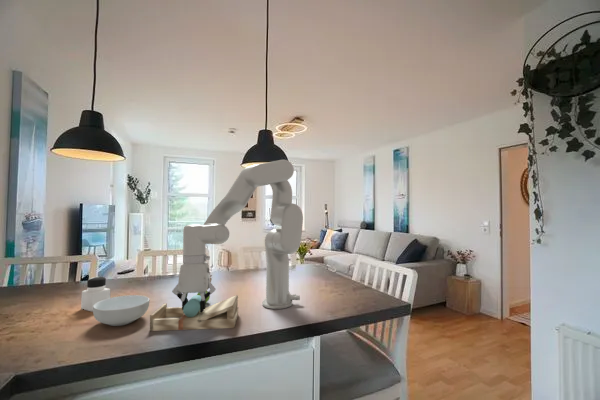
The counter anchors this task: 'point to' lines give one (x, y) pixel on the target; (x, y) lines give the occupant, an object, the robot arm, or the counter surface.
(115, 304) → the cereal bowl
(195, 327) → the launch ramp
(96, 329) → the counter surface
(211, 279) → the snail figurine
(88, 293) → the medicine bottle
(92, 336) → the counter surface
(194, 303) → the roller
